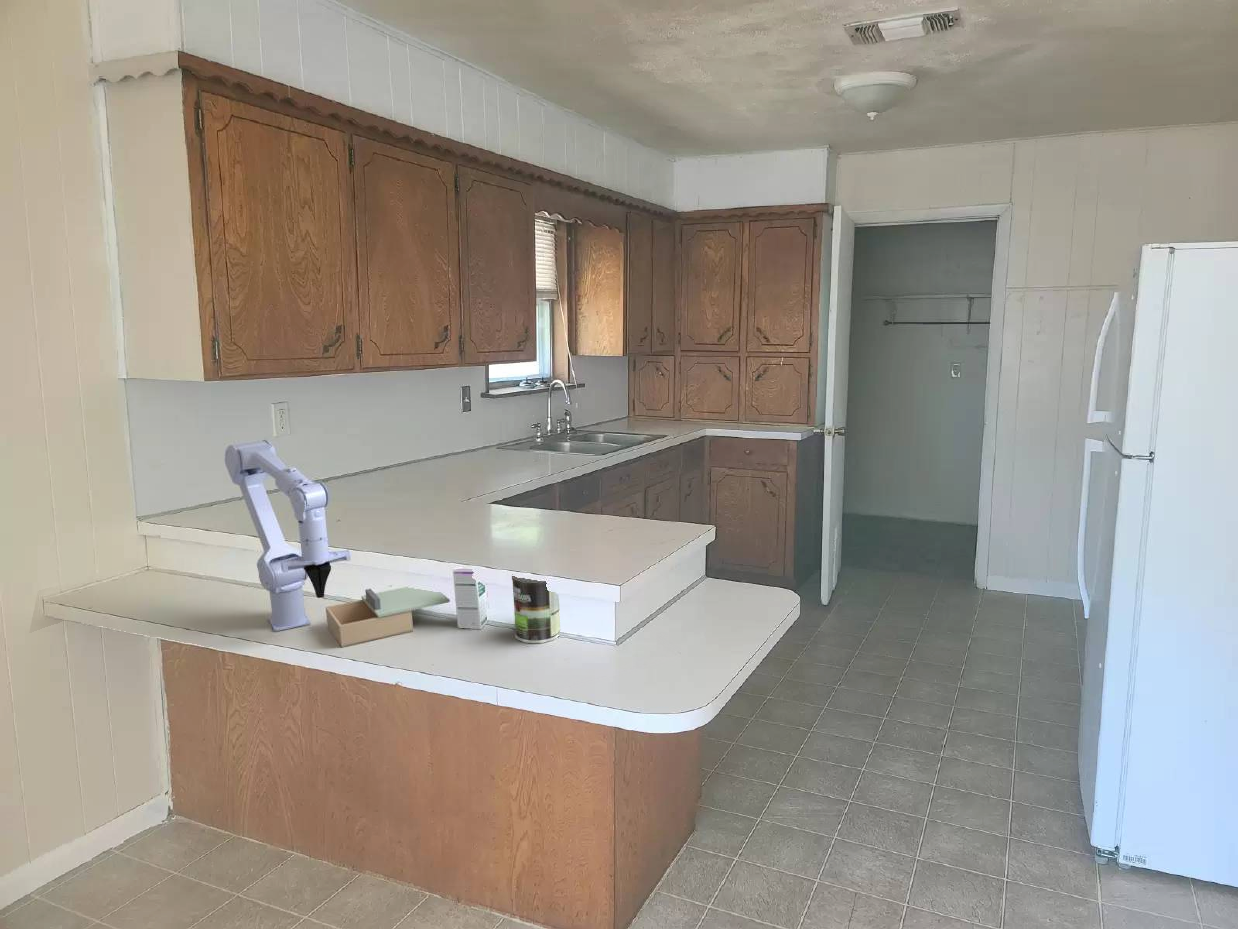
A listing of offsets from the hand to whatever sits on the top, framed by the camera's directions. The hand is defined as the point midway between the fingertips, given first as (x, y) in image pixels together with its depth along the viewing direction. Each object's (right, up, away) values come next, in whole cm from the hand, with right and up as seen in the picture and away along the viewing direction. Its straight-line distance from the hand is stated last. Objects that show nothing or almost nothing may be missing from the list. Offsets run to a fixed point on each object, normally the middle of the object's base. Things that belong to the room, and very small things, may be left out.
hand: (320, 596), depth 196 cm
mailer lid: (+17, -2, +9) cm, 19 cm away
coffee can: (+49, -9, 0) cm, 50 cm away
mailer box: (+9, -9, +6) cm, 14 cm away
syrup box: (+33, -8, +7) cm, 35 cm away
